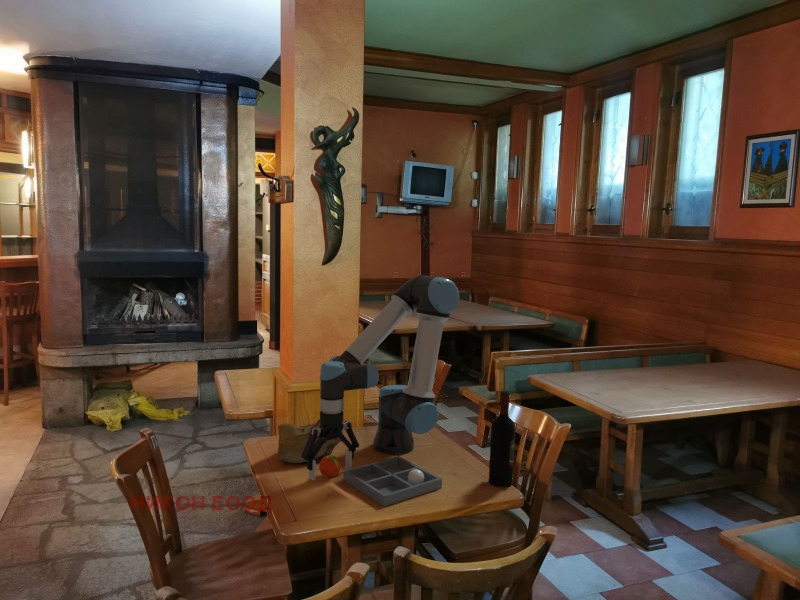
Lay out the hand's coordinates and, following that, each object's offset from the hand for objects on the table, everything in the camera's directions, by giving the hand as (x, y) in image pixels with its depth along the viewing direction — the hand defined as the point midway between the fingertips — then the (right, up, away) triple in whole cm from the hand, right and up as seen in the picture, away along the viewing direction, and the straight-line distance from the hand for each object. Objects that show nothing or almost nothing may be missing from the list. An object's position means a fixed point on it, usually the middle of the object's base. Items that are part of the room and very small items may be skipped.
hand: (330, 474), depth 193 cm
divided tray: (+20, -2, -6) cm, 21 cm away
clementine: (0, -1, 0) cm, 1 cm away
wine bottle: (+55, -3, 0) cm, 55 cm away
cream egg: (+27, -2, -7) cm, 28 cm away
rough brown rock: (-11, +1, +18) cm, 21 cm away
